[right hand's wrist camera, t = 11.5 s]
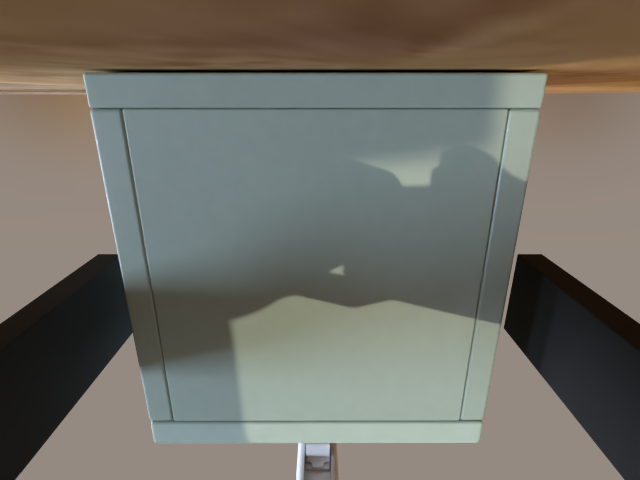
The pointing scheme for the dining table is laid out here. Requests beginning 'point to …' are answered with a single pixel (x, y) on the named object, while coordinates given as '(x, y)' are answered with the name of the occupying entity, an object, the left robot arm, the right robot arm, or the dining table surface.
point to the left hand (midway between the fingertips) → (317, 468)
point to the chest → (315, 237)
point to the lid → (317, 431)
